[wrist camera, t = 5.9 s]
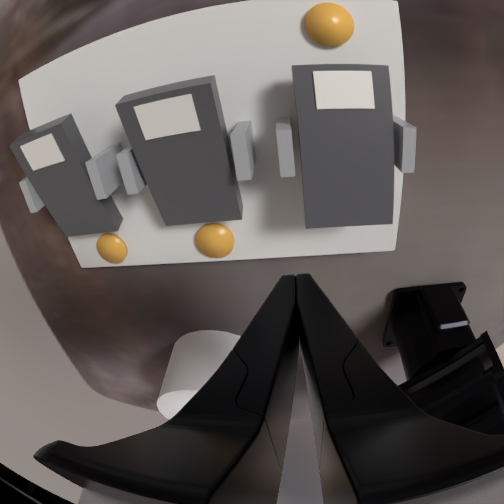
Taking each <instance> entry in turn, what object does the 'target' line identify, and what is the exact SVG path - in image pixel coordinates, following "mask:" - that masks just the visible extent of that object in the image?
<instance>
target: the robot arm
mask: <svg viewBox="0 0 504 504" xmlns="http://www.w3.org/2000/svg"><path fill="white" fill-rule="evenodd" d="M465 291H466V286H465V284H464V283H463V282H457V283H448V284H439V285H430V286H420V287H410V288H400V289H397V290H396V291H395V292H394V294H393V299H392V303H391V308H390V312H389V316H388V321H387V325H386V329H385V333H384V336H383V340H382V342H383V346H384V347H392V346H398V348H399V352H400V356H401V359H402V363H403V367H404V371H405V375H406V379H407V381H406V382H404V383H402V384H400V385H398V386H397V385H396V384H395V383H394V382H393V381H392V380H391V379H390V378H389V376H388V375H387V374H386V373H385V372H384V371H383V370H382V369H381V368H380V367H379V365H378V364H377V363H376V362H375V361H374V359H373V358H372V357H371V356H370V354H369V353H368V352H367V350H366V349H365V348H364V346H363V345H362V344H361V342H359V340H358V338H357V337H356V335H355V334H354V333H353V331H352V330H351V329H350V327H349V326H348V325H347V323H346V322H345V320H344V319H343V318H342V316H341V315H340V314H339V312H338V311H337V310H336V308H335V307H334V306H333V304H332V303H331V302H330V300H329V299H328V298H327V296H326V295H325V294H324V292H323V291H322V290H321V288H320V287H319V286H318V284H317V283H316V282H315V280H314V279H313V278H312V276H311V275H310V274H308V273H307V274H297V275H296V276H295V275H283V276H281V278H280V279H279V281H278V282H277V284H276V285H275V287H274V288H273V290H272V291H271V293H270V294H269V296H268V297H267V299H266V300H265V302H264V303H263V305H262V306H261V308H260V309H259V311H258V312H257V314H256V315H255V316H254V318H253V319H252V321H251V322H250V324H249V325H248V327H247V328H246V330H245V331H244V333H243V334H242V336H241V337H240V338H239V340H238V341H237V343H236V344H235V346H234V347H233V350H231V351H230V353H229V354H228V356H227V357H226V358H225V360H224V361H223V362H222V364H221V365H220V366H219V368H218V369H217V370H216V372H215V373H214V374H213V375H212V376H211V377H210V379H209V380H208V381H207V382H206V383H205V384H204V385H203V386H202V387H201V389H200V390H199V391H198V392H197V393H196V394H195V395H194V396H193V397H192V398H191V399H190V400H189V401H188V402H187V403H186V404H185V405H184V406H183V408H182V409H181V410H180V411H179V412H178V413H177V414H176V415H175V416H174V417H172V418H171V419H170V420H169V421H167V422H166V423H164V424H162V425H161V426H159V427H156V428H153V429H151V430H148V431H145V432H142V433H139V434H136V435H133V436H130V437H126V438H124V439H120V440H117V441H114V442H110V443H107V444H104V445H99V446H92V447H83V446H77V445H74V444H71V443H68V442H64V441H60V440H58V441H55V442H52V443H50V444H47V445H45V446H43V447H42V448H40V449H39V450H38V451H37V452H36V453H35V454H34V456H33V457H34V458H35V459H36V460H37V461H38V462H40V463H41V464H43V465H44V466H46V467H47V468H49V469H51V470H52V471H54V472H55V473H57V474H59V475H60V476H62V477H64V478H66V479H67V480H70V481H71V482H73V483H75V484H77V485H79V486H80V487H82V488H83V489H82V493H81V496H80V499H79V503H78V504H276V503H277V498H278V493H279V486H280V481H281V476H282V469H283V463H284V457H285V451H286V445H287V437H288V431H289V424H290V417H291V410H292V403H293V395H294V387H295V379H296V371H297V362H298V353H299V339H300V348H301V355H302V361H303V367H304V373H305V379H306V385H307V391H308V397H309V404H310V410H311V417H312V423H313V430H314V437H315V443H316V450H317V457H318V465H319V470H320V479H321V486H322V495H323V503H324V504H504V368H503V366H502V363H501V361H500V359H499V357H498V355H497V352H496V350H495V348H494V345H493V343H492V341H491V339H490V337H489V335H488V333H487V331H485V332H484V333H483V334H481V336H480V337H479V338H477V339H475V336H474V334H473V332H472V330H471V328H470V326H469V323H470V322H469V319H468V317H467V315H466V313H465V311H464V309H463V307H462V305H461V302H462V299H463V297H464V294H465ZM401 294H402V295H401ZM399 295H400V296H399ZM0 504H74V503H72V502H70V501H68V500H65V499H63V498H61V497H59V496H57V495H55V494H53V493H51V492H49V491H47V490H45V489H43V488H41V487H40V486H38V485H36V484H34V483H32V482H30V481H29V480H27V479H25V478H23V477H22V476H20V475H18V474H17V473H15V472H14V471H12V470H10V469H9V468H7V467H6V466H4V465H3V464H1V463H0Z"/></svg>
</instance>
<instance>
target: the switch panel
mask: <svg viewBox="0 0 504 504" xmlns="http://www.w3.org/2000/svg"><path fill="white" fill-rule="evenodd" d="M311 64H368V65H387V66H388V67H389V76H390V86H391V98H392V112H393V131H394V208H393V224H385V225H365V226H346V227H327V228H310V229H306V227H305V219H304V202H303V187H302V173H301V161H300V148H299V137H298V126H297V116H296V106H295V97H294V88H293V79H292V71H291V67H292V65H311ZM212 75H215V79H216V84H217V88H218V93H219V98H220V102H221V107H222V111H223V116H224V120H225V125H226V129H227V134H228V139H229V143H230V148H231V152H232V157H233V161H234V166H235V171H236V176H237V181H238V184H239V189H240V193H241V198H242V203H243V214H242V220H232V221H219V222H207V223H196V224H184V225H174V226H166V225H165V223H164V221H163V219H162V217H161V214H160V212H159V210H158V208H157V206H156V203H155V201H154V199H153V197H152V194H151V192H150V190H149V187H148V185H147V183H146V181H145V178H144V176H143V174H142V171H141V169H140V167H139V164H138V162H137V159H136V157H135V155H134V152H133V150H132V147H131V145H130V142H129V140H128V138H127V135H126V133H125V130H124V128H123V125H122V122H121V120H120V117H119V115H118V112H117V110H116V107H115V104H116V103H117V102H118V101H119V100H120V99H121V98H122V97H123V96H125V95H128V94H132V93H135V92H139V91H143V90H146V89H150V88H154V87H158V86H163V85H167V84H171V83H176V82H180V81H185V80H190V79H195V78H201V77H206V76H212ZM19 85H20V90H21V95H22V100H23V104H24V108H25V113H26V117H27V121H28V124H29V128H30V130H32V129H34V128H36V127H39V126H41V125H43V124H46V123H48V122H51V121H53V120H55V119H58V118H60V117H63V116H65V115H68V114H72V116H73V118H74V120H75V123H76V125H77V127H78V129H79V132H80V134H81V136H82V138H83V140H84V142H85V145H86V147H87V149H88V151H89V153H90V155H91V157H92V158H91V159H89V160H88V161H87V162H85V164H86V167H87V171H88V174H89V177H90V180H91V183H92V186H93V189H94V192H95V195H96V198H97V200H100V199H106V198H108V197H109V196H110V195H111V197H112V199H113V200H114V202H115V204H116V206H117V208H118V210H119V212H120V213H121V215H122V217H123V221H122V223H121V225H120V227H119V230H118V231H115V232H106V233H97V234H89V235H80V236H72V237H68V239H69V241H70V244H71V246H72V248H73V250H74V252H75V255H76V257H77V259H78V261H79V263H80V265H81V267H82V268H89V267H109V266H130V265H150V264H169V263H188V262H207V261H226V260H244V259H261V258H279V257H296V256H313V255H330V254H346V253H362V252H378V251H394V250H395V245H396V238H397V231H398V223H399V214H400V204H401V194H402V182H403V173H414V166H415V150H416V127H414V126H413V125H411V124H409V123H407V122H406V121H405V77H404V59H403V45H402V34H401V25H400V16H399V9H398V2H397V1H392V0H251V1H243V2H236V3H229V4H223V5H217V6H212V7H207V8H202V9H197V10H193V11H188V12H184V13H180V14H176V15H172V16H168V17H165V18H161V19H157V20H154V21H151V22H147V23H144V24H141V25H138V26H135V27H132V28H129V29H126V30H123V31H120V32H118V33H115V34H112V35H110V36H107V37H105V38H102V39H100V40H97V41H95V42H92V43H90V44H88V45H85V46H83V47H81V48H79V49H76V50H74V51H72V52H70V53H68V54H66V55H64V56H62V57H60V58H58V59H56V60H54V61H52V62H50V63H48V64H46V65H44V66H42V67H40V68H39V69H37V70H35V71H33V72H31V73H30V74H28V75H26V76H25V77H23V78H21V79H20V80H19ZM19 184H20V186H21V189H22V192H23V194H24V197H25V200H26V202H27V205H28V207H29V210H30V212H31V213H34V212H38V211H39V210H40V209H41V208H42V207H43V206H44V203H43V201H42V200H41V198H40V197H39V195H38V194H37V192H36V190H35V189H34V187H33V186H32V184H31V182H30V181H29V179H28V177H26V178H25V179H23V180H22V181H20V182H19Z"/></svg>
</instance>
